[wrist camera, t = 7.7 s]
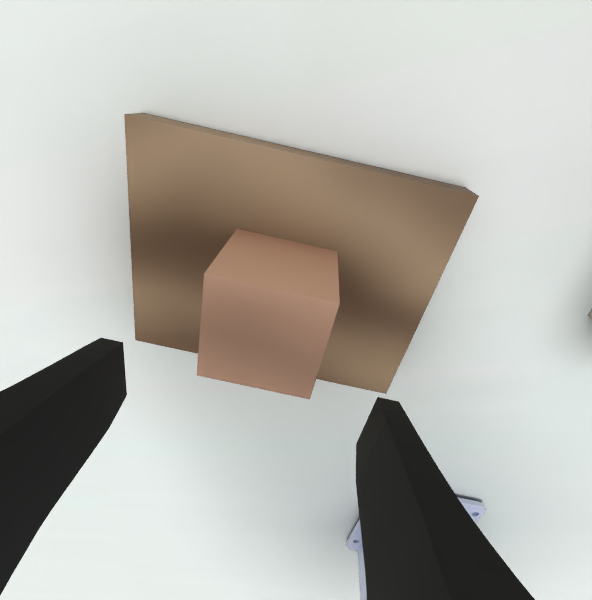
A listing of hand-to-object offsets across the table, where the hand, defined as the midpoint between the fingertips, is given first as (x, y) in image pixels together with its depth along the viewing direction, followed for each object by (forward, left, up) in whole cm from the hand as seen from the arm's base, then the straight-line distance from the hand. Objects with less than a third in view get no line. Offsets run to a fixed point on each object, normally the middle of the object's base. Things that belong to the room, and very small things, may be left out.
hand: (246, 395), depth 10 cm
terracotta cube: (0, 0, -7) cm, 7 cm away
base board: (0, 0, -9) cm, 9 cm away
